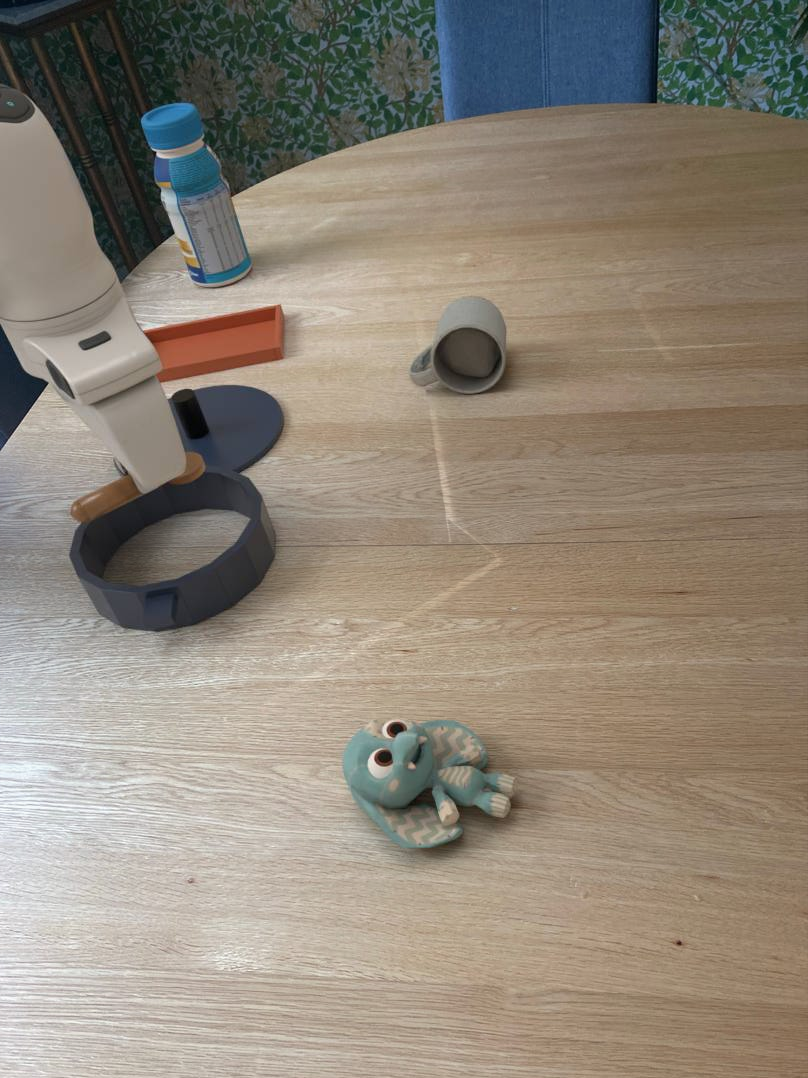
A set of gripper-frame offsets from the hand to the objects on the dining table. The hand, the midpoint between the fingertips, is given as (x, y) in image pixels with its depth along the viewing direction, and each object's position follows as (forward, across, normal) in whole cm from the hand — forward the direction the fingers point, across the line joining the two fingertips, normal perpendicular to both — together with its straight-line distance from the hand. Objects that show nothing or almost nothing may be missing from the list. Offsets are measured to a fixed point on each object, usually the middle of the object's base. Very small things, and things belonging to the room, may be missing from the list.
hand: (140, 478), depth 84 cm
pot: (+10, 0, 0) cm, 10 cm away
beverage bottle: (+10, -51, +30) cm, 60 cm away
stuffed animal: (+10, +36, +3) cm, 38 cm away
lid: (+10, -17, +10) cm, 22 cm away
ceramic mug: (+10, -6, +36) cm, 38 cm away
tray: (+10, -33, +19) cm, 39 cm away
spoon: (+1, 0, 0) cm, 1 cm away
